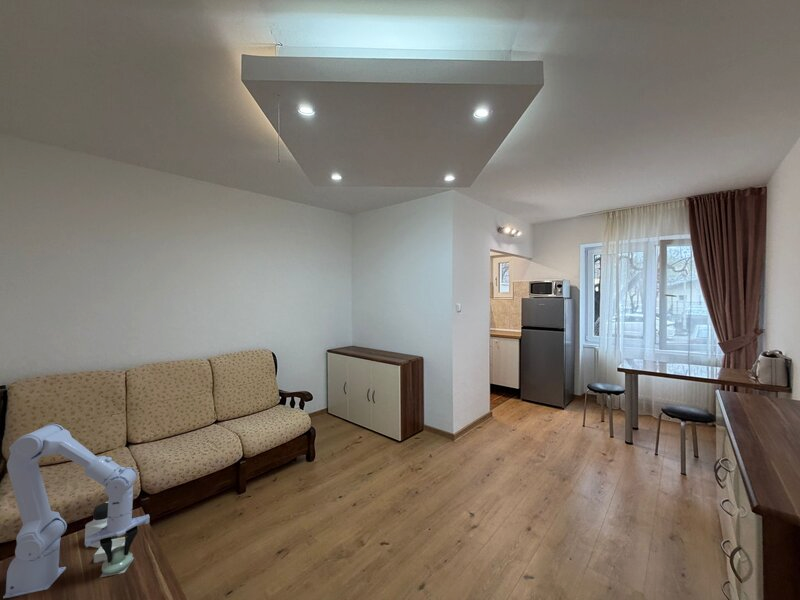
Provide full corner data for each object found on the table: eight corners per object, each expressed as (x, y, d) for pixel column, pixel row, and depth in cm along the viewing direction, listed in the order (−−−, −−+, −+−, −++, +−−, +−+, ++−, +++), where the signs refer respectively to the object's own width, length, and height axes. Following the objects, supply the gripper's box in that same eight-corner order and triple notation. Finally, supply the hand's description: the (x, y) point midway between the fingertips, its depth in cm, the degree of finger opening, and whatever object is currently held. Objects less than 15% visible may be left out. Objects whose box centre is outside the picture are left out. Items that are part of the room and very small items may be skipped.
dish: (93, 564, 97) (94, 554, 97) (105, 549, 103) (105, 540, 103) (118, 559, 99) (119, 550, 99) (129, 545, 105) (129, 536, 105)
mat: (99, 578, 92) (99, 577, 92) (110, 563, 98) (110, 561, 98) (124, 573, 94) (124, 572, 94) (134, 558, 100) (134, 557, 100)
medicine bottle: (100, 549, 103) (102, 512, 104) (83, 546, 105) (85, 509, 105) (123, 534, 110) (125, 499, 111) (107, 531, 112) (109, 497, 112)
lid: (96, 575, 92) (97, 561, 92) (109, 557, 98) (110, 544, 98) (125, 570, 94) (126, 555, 94) (136, 552, 100) (137, 539, 101)
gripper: (88, 530, 89) (85, 579, 88) (152, 506, 99) (150, 550, 99) (86, 518, 93) (83, 565, 93) (147, 497, 104) (145, 539, 104)
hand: (117, 557), depth 96 cm, fingers closed on lid, 3 cm apart
